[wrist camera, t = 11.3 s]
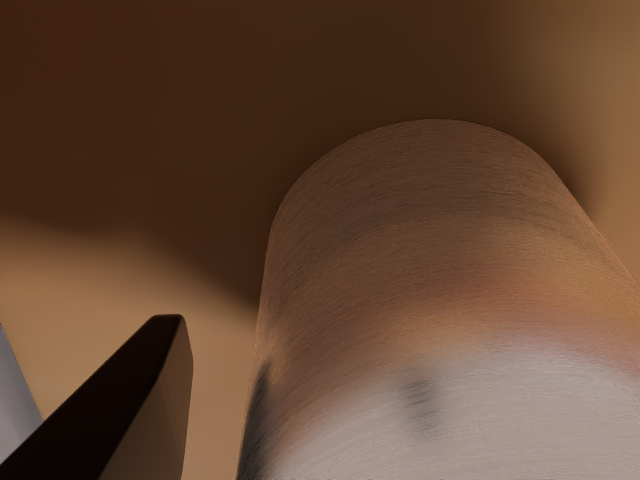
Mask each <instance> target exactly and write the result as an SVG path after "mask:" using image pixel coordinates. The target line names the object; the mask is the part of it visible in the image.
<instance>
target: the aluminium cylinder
mask: <svg viewBox="0 0 640 480" xmlns="http://www.w3.org/2000/svg"><path fill="white" fill-rule="evenodd" d="M236 480H640V286H639V285H638V284H637V282H636V281H635V280H634V278H633V277H632V276H631V274H630V273H629V272H628V270H627V269H626V267H625V266H624V265H623V263H622V262H621V261H620V259H619V258H618V257H617V255H616V254H615V253H614V251H613V250H612V248H611V247H610V246H609V244H608V243H607V242H606V240H605V239H604V238H603V236H602V235H601V234H600V232H599V231H598V229H597V228H596V227H595V225H594V224H593V223H592V221H591V220H590V219H589V217H588V216H587V215H586V213H585V212H584V210H583V209H582V208H581V206H580V205H579V204H578V202H577V201H576V200H575V198H574V197H573V196H572V194H571V193H570V191H569V190H568V189H567V187H566V186H565V185H564V183H563V182H562V181H561V179H560V178H559V177H558V175H557V174H556V172H555V171H554V170H553V169H552V168H551V167H550V166H549V165H548V163H547V162H546V161H545V160H544V159H543V158H542V157H541V156H540V155H538V154H537V153H536V152H535V151H534V150H532V149H531V148H530V147H529V146H527V145H526V144H524V143H522V142H521V141H519V140H517V139H515V138H514V137H512V136H510V135H508V134H506V133H503V132H501V131H498V130H496V129H493V128H491V127H488V126H484V125H480V124H476V123H472V122H467V121H459V120H451V119H420V120H412V121H404V122H398V123H394V124H390V125H386V126H382V127H378V128H375V129H373V130H370V131H368V132H365V133H362V134H360V135H357V136H355V137H353V138H351V139H349V140H348V141H346V142H344V143H342V144H340V145H338V146H336V147H335V148H333V149H332V150H331V151H329V152H328V153H326V154H325V155H323V156H322V157H321V158H319V159H318V160H317V161H316V162H315V163H314V164H312V165H311V166H310V167H309V168H308V169H307V170H306V171H305V172H304V173H303V174H302V175H301V176H300V177H299V179H298V180H297V181H296V182H295V183H294V185H293V186H292V187H291V188H290V190H289V191H288V193H287V194H286V196H285V198H284V199H283V201H282V203H281V204H280V206H279V208H278V211H277V213H276V216H275V218H274V220H273V223H272V227H271V231H270V234H269V238H268V245H267V253H266V260H265V268H264V275H263V282H262V290H261V297H260V305H259V312H258V320H257V327H256V335H255V342H254V349H253V357H252V364H251V372H250V379H249V387H248V394H247V402H246V409H245V416H244V424H243V431H242V439H241V446H240V454H239V461H238V469H237V476H236Z"/></svg>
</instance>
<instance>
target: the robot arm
mask: <svg viewBox="0 0 640 480" xmlns="http://www.w3.org/2000/svg"><path fill="white" fill-rule="evenodd" d="M192 377H193V356H192V351H191V346H190V341H189V336H188V331H187V326H186V322H185V319H184V317H183V316H182V315H180V314H162V315H154V316H152V317H151V318H150V319H149V320H147V321H146V322H145V323H144V324H143V325H142V326H141V327H140V328H139V329H138V330H137V331H136V332H135V333H134V334H133V335H132V336H131V337H130V338H129V339H128V340H127V341H126V342H125V343H124V344H123V345H122V346H121V347H120V348H119V349H118V350H117V351H116V352H115V353H114V354H113V355H112V356H111V357H110V358H109V359H108V360H106V361H105V362H104V363H103V364H102V365H101V366H100V367H99V368H98V369H97V370H96V371H95V372H94V373H93V374H92V375H91V376H90V377H89V378H88V379H87V380H86V381H85V382H84V383H83V384H82V385H81V386H80V387H79V388H78V389H77V390H76V391H75V392H74V393H73V394H72V395H71V396H70V397H69V398H68V399H67V400H65V401H64V402H63V403H62V404H61V405H60V406H59V407H58V408H57V409H56V410H55V411H54V412H53V413H52V414H51V415H50V416H49V417H48V418H47V419H46V420H45V421H44V422H43V423H42V424H41V425H40V426H39V427H38V428H37V429H36V430H35V431H34V432H33V433H32V434H31V435H30V436H29V437H28V438H27V439H26V440H24V441H23V442H22V443H21V444H20V445H19V446H18V447H17V448H16V449H15V450H14V451H13V452H12V453H11V454H10V455H9V456H8V457H7V458H6V459H5V460H4V461H3V462H2V463H1V464H0V480H181V475H182V469H183V461H184V454H185V444H186V435H187V425H188V415H189V406H190V396H191V387H192Z"/></svg>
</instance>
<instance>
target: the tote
mask: <svg viewBox="0 0 640 480" xmlns="http://www.w3.org/2000/svg"><path fill="white" fill-rule="evenodd" d="M42 423H43V420H42V418H41V416H40V413H39V411H38V409H37V407H36V404H35V402H34V400H33V397H32V395H31V393H30V391H29V388H28V386H27V384H26V381H25V379H24V377H23V375H22V372H21V370H20V368H19V365H18V363H17V361H16V359H15V356H14V354H13V352H12V349H11V347H10V345H9V343H8V340H7V338H6V336H5V333H4V331H3V329H2V326H1V324H0V464H1V463H2V462H3V461H4V460H5V459H6V458H7V457H8V456H9V455H10V454H11V453H12V452H13V451H14V450H15V449H16V448H17V447H18V446H19V445H20V444H21V443H22V442H23V441H24V440H26V439H27V438H28V437H29V436H30V435H31V434H32V433H33V432H34V431H35V430H36V429H37V428H38V427H39V426H40V425H41V424H42Z"/></svg>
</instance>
